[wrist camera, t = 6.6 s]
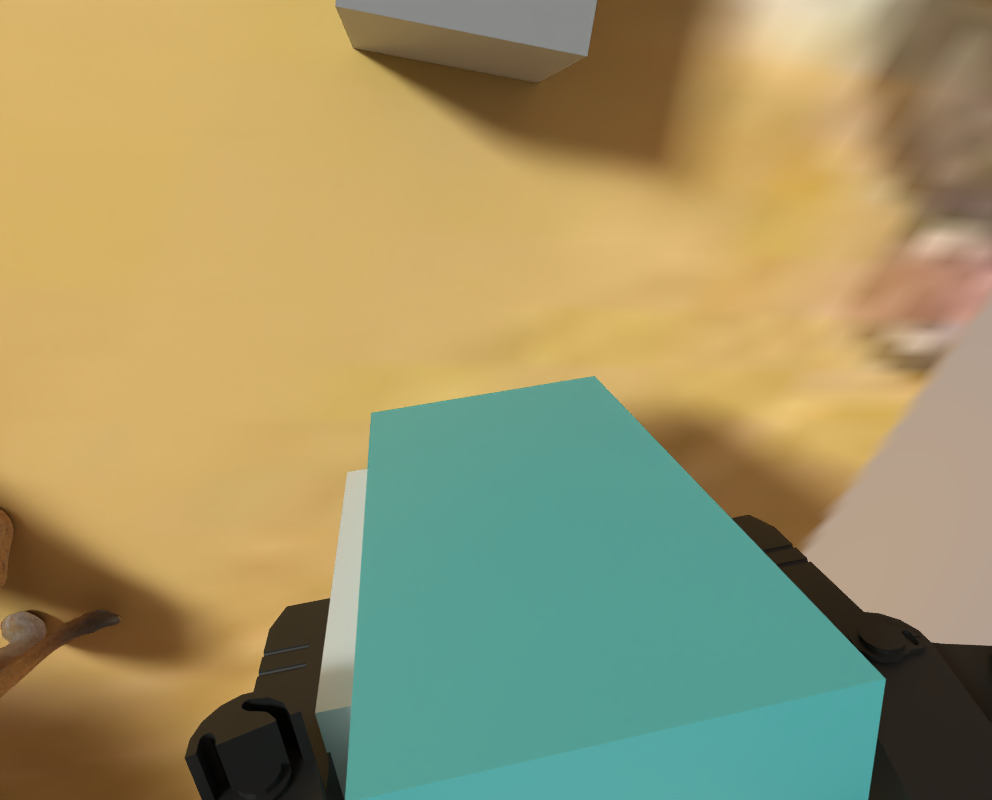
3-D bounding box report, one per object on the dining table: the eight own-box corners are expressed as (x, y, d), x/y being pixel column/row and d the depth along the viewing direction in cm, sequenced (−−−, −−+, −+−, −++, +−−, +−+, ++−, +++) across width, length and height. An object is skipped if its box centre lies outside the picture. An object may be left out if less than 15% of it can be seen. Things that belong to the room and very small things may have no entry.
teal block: (409, 599, 16) (434, 1106, 7) (371, 412, 14) (344, 802, 5) (605, 561, 16) (840, 991, 8) (594, 375, 14) (886, 678, 6)
